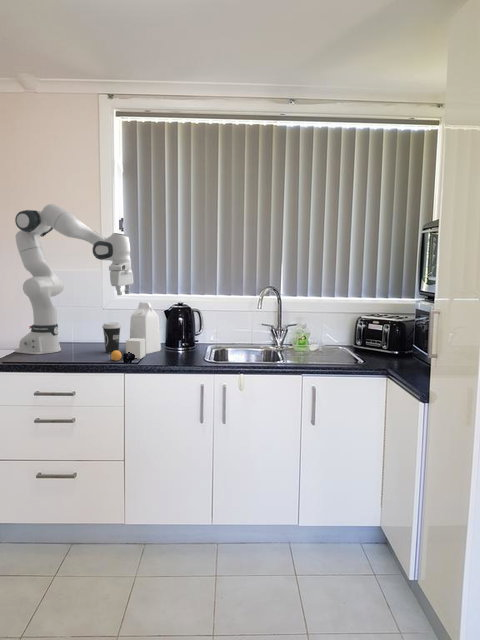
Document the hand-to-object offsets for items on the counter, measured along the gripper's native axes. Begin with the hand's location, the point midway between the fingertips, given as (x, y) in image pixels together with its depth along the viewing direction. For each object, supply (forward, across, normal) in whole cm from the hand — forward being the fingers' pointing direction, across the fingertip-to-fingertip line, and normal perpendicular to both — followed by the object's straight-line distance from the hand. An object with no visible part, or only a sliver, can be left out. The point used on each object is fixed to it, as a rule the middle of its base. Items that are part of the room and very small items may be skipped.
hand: (123, 294), depth 226 cm
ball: (+28, +11, 0) cm, 30 cm away
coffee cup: (+31, -9, -12) cm, 34 cm away
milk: (+31, -15, +4) cm, 35 cm away
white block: (+31, +1, +5) cm, 32 cm away
